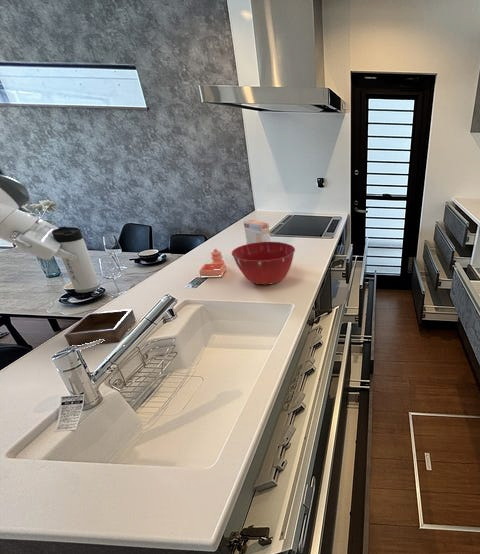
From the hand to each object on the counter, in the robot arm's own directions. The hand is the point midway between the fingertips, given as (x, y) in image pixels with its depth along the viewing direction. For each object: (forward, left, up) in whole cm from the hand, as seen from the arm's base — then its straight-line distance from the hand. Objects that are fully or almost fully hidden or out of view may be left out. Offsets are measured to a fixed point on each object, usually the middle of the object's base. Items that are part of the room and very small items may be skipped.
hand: (77, 255), depth 94 cm
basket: (0, -1, -29) cm, 29 cm away
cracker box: (+48, +67, -29) cm, 87 cm away
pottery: (+27, +50, -29) cm, 64 cm away
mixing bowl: (+53, +34, -29) cm, 69 cm away
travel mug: (-1, 0, -12) cm, 12 cm away
